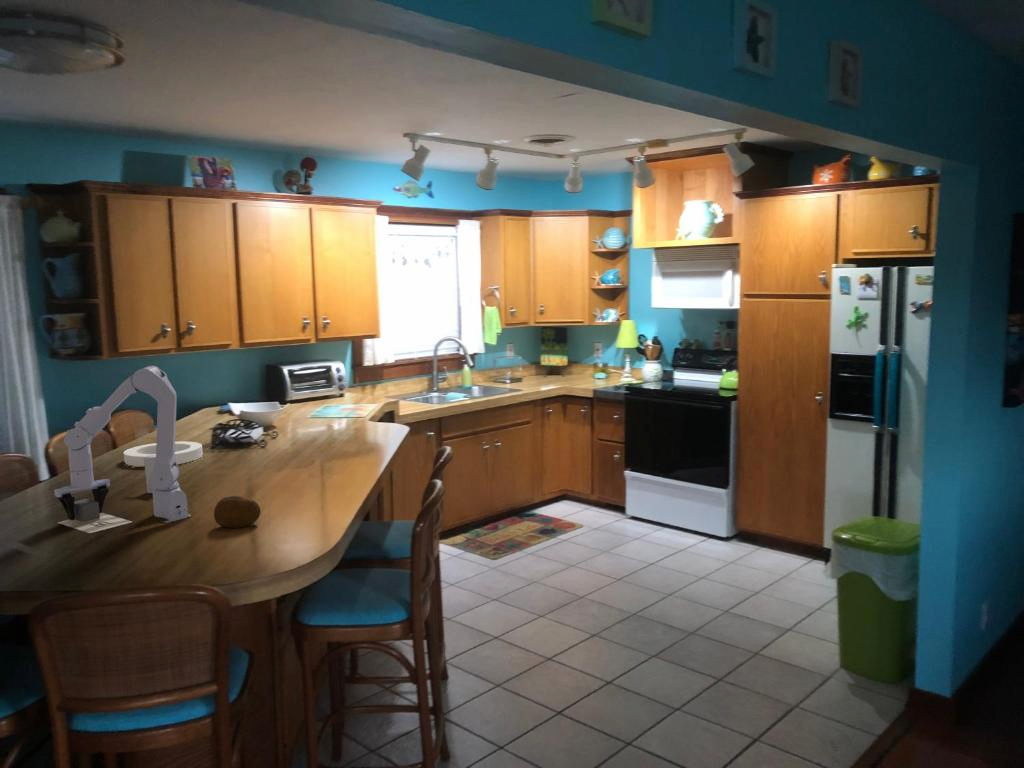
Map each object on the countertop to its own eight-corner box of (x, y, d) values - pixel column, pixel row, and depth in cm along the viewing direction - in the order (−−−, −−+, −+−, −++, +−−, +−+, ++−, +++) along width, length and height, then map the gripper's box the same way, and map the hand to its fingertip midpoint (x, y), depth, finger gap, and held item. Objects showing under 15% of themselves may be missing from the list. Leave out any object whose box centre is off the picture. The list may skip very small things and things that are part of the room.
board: (133, 525, 221) (132, 521, 221) (90, 537, 211) (89, 533, 211) (99, 516, 231) (99, 511, 231) (57, 526, 222) (56, 522, 221)
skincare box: (170, 489, 260) (167, 453, 259) (165, 493, 256) (163, 456, 254) (151, 490, 260) (148, 454, 258) (146, 494, 255) (143, 457, 254)
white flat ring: (165, 471, 289) (164, 458, 288) (107, 466, 298) (106, 454, 298) (218, 455, 315) (217, 443, 314) (163, 451, 324) (162, 439, 324)
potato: (252, 531, 214) (250, 500, 213) (209, 532, 214) (206, 501, 213) (262, 522, 223) (260, 492, 222) (220, 522, 223) (218, 492, 221)
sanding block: (100, 519, 224) (98, 502, 223) (84, 523, 220) (82, 505, 220) (87, 515, 228) (85, 498, 227) (71, 519, 224) (69, 502, 223)
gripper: (99, 462, 230) (103, 507, 232) (47, 472, 219) (51, 520, 220) (112, 465, 226) (116, 511, 228) (60, 476, 214) (64, 524, 216)
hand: (85, 516), depth 224 cm, fingers open, 7 cm apart
